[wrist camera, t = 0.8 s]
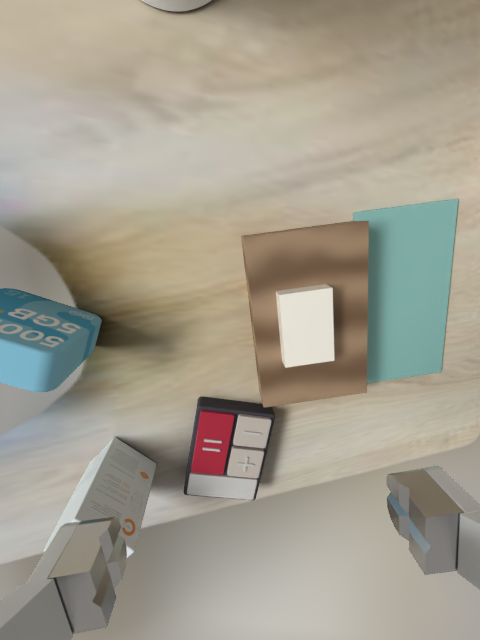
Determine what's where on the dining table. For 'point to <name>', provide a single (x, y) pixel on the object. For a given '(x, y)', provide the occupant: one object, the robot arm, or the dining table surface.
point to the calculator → (228, 448)
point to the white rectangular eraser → (306, 325)
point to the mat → (408, 287)
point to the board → (304, 271)
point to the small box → (113, 491)
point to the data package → (42, 340)
